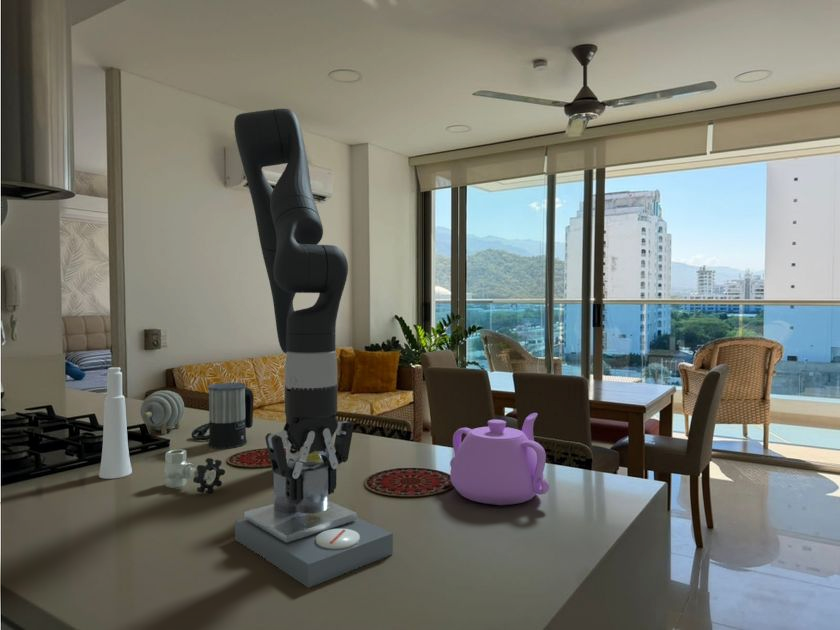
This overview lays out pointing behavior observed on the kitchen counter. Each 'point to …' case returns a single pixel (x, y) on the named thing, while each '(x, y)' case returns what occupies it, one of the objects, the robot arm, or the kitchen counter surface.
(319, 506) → the cylinder
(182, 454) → the valve
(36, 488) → the kitchen counter surface
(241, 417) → the milk frother
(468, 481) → the teapot
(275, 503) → the cylinder
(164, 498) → the kitchen counter surface
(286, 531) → the pan
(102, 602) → the kitchen counter surface
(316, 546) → the scale
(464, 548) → the kitchen counter surface
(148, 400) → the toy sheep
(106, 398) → the cosmetic bottle
